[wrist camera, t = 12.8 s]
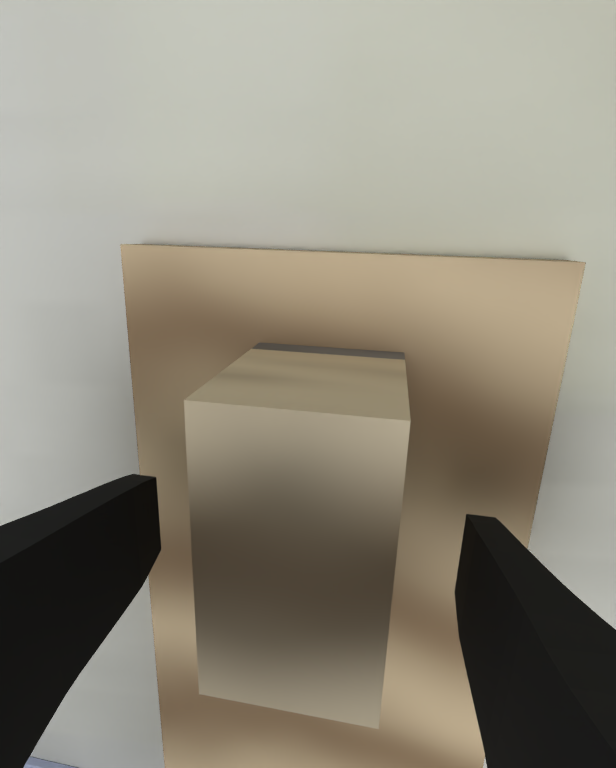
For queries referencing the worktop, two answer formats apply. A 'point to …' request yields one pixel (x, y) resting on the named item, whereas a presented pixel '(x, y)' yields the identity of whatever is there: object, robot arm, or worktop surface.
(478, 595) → the robot arm
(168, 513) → the board
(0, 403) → the worktop surface
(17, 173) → the worktop surface
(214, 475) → the block
